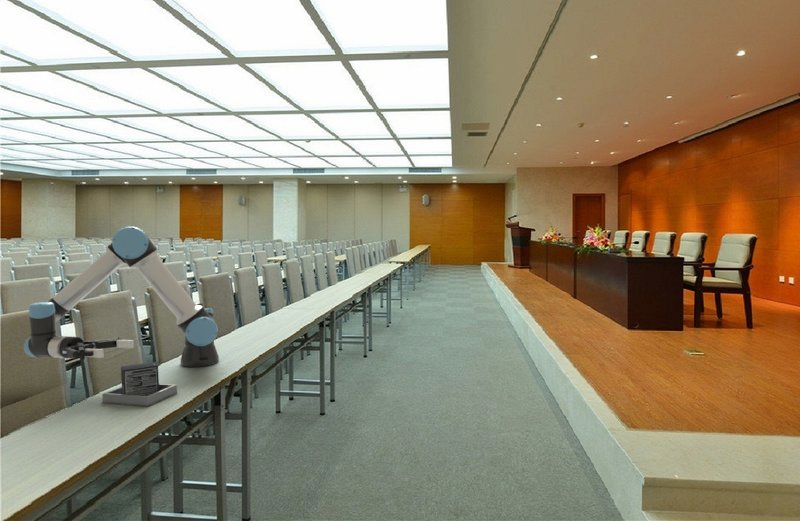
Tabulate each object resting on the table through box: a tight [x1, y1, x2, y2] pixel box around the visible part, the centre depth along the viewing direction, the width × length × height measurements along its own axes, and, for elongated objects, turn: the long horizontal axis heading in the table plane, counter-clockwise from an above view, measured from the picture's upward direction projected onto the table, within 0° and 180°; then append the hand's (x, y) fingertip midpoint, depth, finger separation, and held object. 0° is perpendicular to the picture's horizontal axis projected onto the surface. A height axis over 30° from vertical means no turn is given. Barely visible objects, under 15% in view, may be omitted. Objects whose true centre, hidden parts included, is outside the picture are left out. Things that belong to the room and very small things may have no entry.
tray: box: [101, 382, 178, 408], centre depth 169 cm, size 14×17×3 cm
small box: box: [120, 361, 160, 396], centre depth 169 cm, size 11×6×10 cm, turn 125°
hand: (118, 348), depth 174 cm, fingers open, 13 cm apart
